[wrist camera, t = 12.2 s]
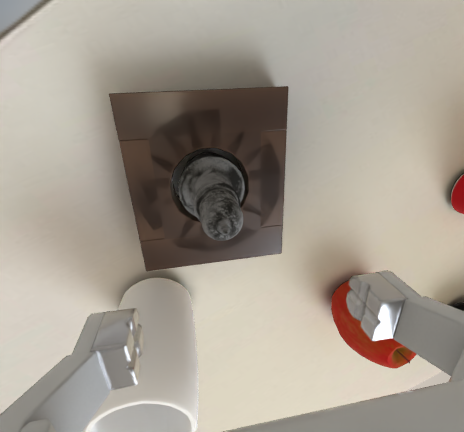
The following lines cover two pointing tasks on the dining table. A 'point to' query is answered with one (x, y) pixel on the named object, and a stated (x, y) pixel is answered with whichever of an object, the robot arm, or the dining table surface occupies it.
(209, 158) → the grey chess piece
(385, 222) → the dining table surface
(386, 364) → the apple
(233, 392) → the dining table surface
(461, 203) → the beverage can
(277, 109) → the base pad
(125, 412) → the cup
